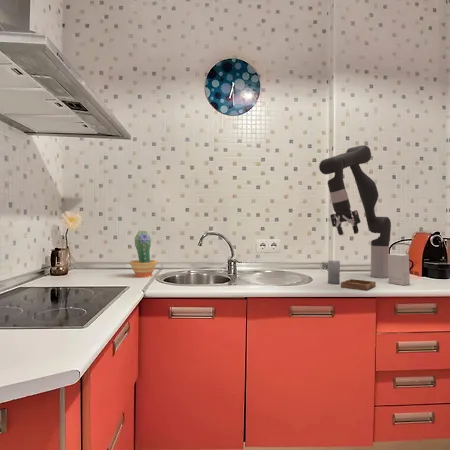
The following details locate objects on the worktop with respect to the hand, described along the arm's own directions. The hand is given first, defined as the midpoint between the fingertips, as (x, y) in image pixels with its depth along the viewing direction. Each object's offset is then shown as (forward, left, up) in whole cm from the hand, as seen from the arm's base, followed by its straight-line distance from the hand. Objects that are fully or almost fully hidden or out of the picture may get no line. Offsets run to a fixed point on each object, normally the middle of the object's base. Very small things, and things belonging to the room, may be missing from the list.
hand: (348, 234), depth 172 cm
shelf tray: (-6, +3, -25) cm, 26 cm away
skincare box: (-28, +15, -25) cm, 41 cm away
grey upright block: (-8, -10, -25) cm, 29 cm away
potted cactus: (+40, -99, -25) cm, 110 cm away
